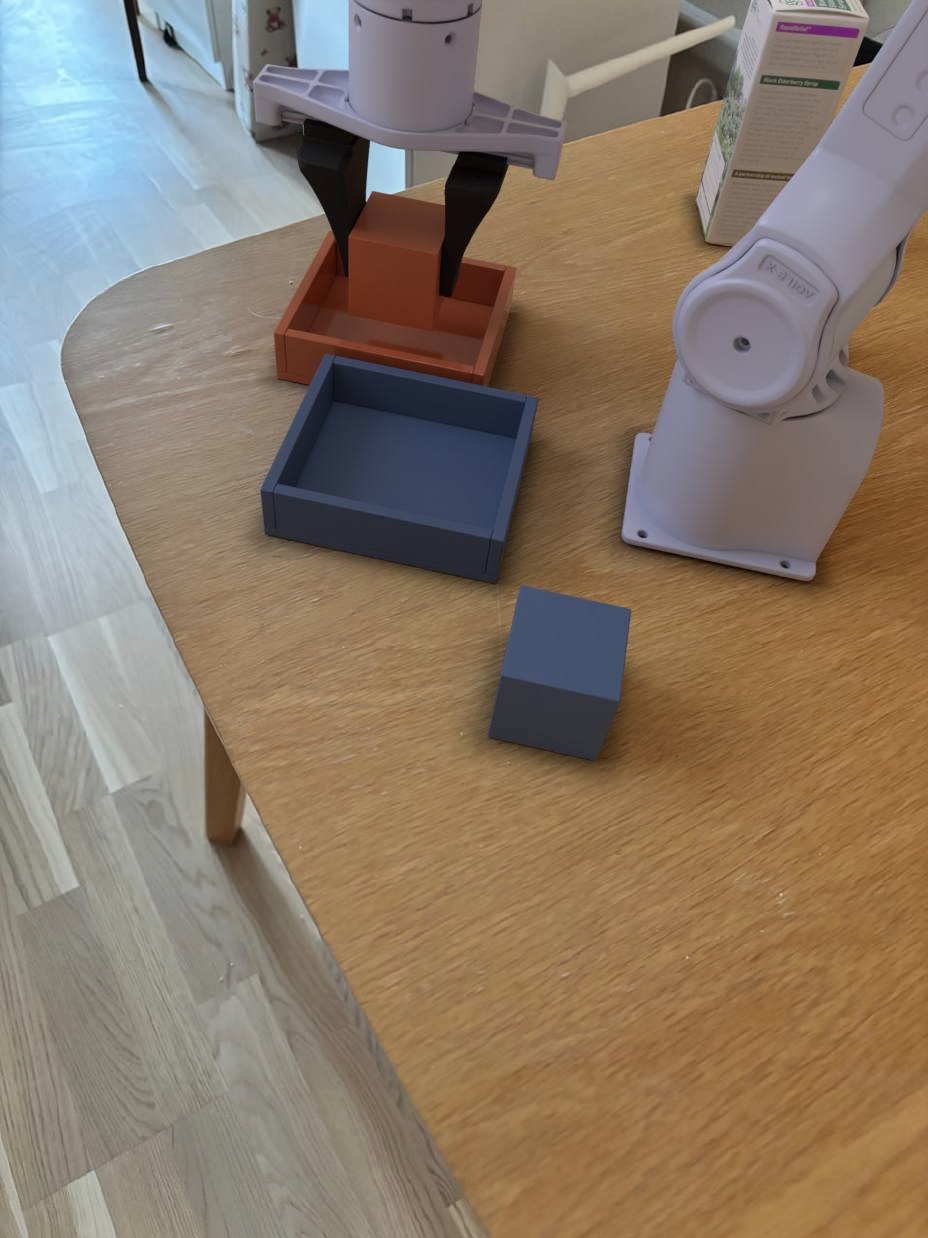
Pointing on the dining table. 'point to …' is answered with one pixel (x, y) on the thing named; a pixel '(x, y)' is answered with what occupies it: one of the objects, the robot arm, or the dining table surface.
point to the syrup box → (775, 106)
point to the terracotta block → (397, 261)
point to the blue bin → (401, 468)
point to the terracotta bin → (395, 325)
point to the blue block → (561, 673)
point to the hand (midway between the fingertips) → (402, 276)
